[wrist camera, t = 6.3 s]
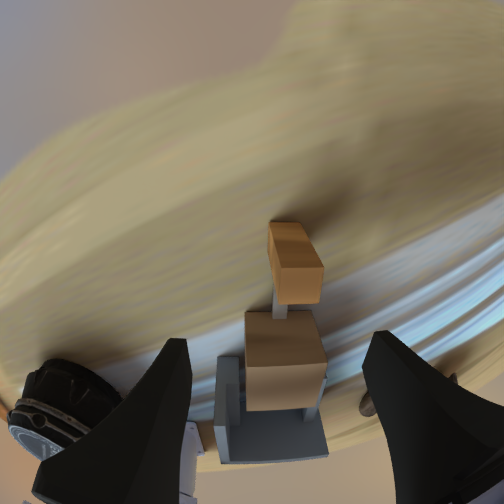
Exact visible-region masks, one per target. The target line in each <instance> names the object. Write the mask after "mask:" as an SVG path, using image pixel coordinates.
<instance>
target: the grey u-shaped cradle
mask: <svg viewBox="0 0 504 504" xmlns="http://www.w3.org/2000/svg"><path fill="white" fill-rule="evenodd" d="M326 381H327V376H326V372H325V376H324V379H323V383H322V386H321V389H320V393H319V396H318V399H317V402H316V405H315V407H308V408H297V409H284V410H266V411H247V409H246V402H240V386H239V357H217V372H216V388H215V406H214V431H215V437H216V442H217V447H218V452H219V456H220V461H221V464H264V463H280V462H291V461H301V460H309V459H316V458H323V457H327V456H328V455H329V452H328V447H327V443H326V439H325V434H324V430H323V426H322V421H321V417H320V413H319V409H318V406H319V403H320V400H321V397H322V394H323V391H324V388H325V385H326Z"/></svg>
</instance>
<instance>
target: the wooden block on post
mask: <svg viewBox="0 0 504 504" xmlns="http://www.w3.org/2000/svg"><path fill="white" fill-rule="evenodd" d="M268 255H269V260H270V265H271V270H272V275H273V280H274V284H273V300H272V312H245V381H246V409H247V411H266V410H284V409H297V408H308V407H315V405H316V402H317V399H318V396H319V393H320V389H321V386H322V383H323V379H324V376H325V372H326V369H327V365H328V361H327V358H326V354H325V351H324V348H323V345H322V342H321V339H320V336H319V333H318V330H317V327H316V324H315V321H314V318H313V315H312V313H311V310H310V311H287V309H288V304H314V303H319V299H320V293H321V287H322V280H323V273H324V266H323V264H322V262H321V260H320V258H319V257H318V255H317V253H316V251H315V249H314V247H313V245H312V244H311V242H310V240H309V238H308V236H307V235H306V233H305V231H304V229H303V227H302V226H301V224H300V223H299V222H269V227H268Z"/></svg>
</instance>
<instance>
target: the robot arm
mask: <svg viewBox="0 0 504 504" xmlns="http://www.w3.org/2000/svg"><path fill="white" fill-rule="evenodd" d="M362 370H363V374H364V378H365V382H366V385H367V389H368V391H369V394H370V397H371V399H372V402H373V404H374V407H375V409H376V412H377V414H378V417H379V419H380V422H381V424H382V427H383V429H384V432H385V435H386V438H387V443H388V447H389V451H390V456H391V461H392V467H393V473H394V481H395V490H396V504H504V406H501V405H498V404H495V403H493V402H490V401H488V400H486V399H483V398H481V397H479V396H477V395H475V394H473V393H471V392H469V391H468V390H466V389H464V388H462V387H461V386H459V385H458V384H456V383H454V382H453V381H451V380H450V379H448V378H447V377H445V376H444V375H443V374H441V373H440V372H438V371H437V370H436V369H434V368H433V367H432V366H431V365H429V364H428V363H427V362H426V361H424V360H423V359H422V358H421V357H419V356H418V355H417V354H416V353H415V352H413V351H412V350H411V349H410V348H409V347H408V346H406V345H405V344H404V343H403V342H402V341H400V340H399V339H398V338H397V337H396V336H394V335H393V334H392V333H391V332H389V331H388V330H384V331H376V332H374V334H373V337H372V340H371V343H370V346H369V349H368V352H367V354H366V357H365V360H364V362H363V365H362ZM191 389H192V370H191V364H190V358H189V353H188V347H187V341H186V339H181V338H170V339H168V340H167V342H166V344H165V345H164V347H163V348H162V350H161V351H160V353H159V354H158V356H157V357H156V359H155V360H154V362H153V363H152V365H151V366H150V367H149V369H148V370H147V371H146V373H145V374H144V375H143V377H142V378H141V379H140V381H139V382H138V383H137V384H136V386H135V387H134V388H133V389H132V390H131V392H130V393H129V394H128V395H127V396H126V398H125V399H124V400H123V401H122V402H121V403H120V404H119V405H118V406H117V407H116V408H115V409H114V410H113V411H112V412H111V413H110V414H109V415H108V416H107V417H106V418H105V419H104V420H102V421H101V422H100V423H99V424H98V425H97V426H96V427H94V428H93V429H92V430H91V431H90V432H88V433H87V434H86V435H84V436H83V437H81V438H80V439H79V440H77V441H76V442H74V443H73V444H71V445H70V446H68V447H67V448H65V449H64V450H62V451H60V452H58V453H57V454H55V455H53V456H51V457H49V458H48V459H46V460H44V461H42V462H41V464H40V466H39V468H38V471H37V474H36V477H35V481H34V484H33V488H32V491H31V492H32V494H33V495H34V496H35V497H37V498H38V499H39V500H41V501H43V502H44V503H46V504H197V498H193V493H194V491H195V480H196V465H197V456H204V455H205V453H204V449H203V446H202V443H201V439H200V436H199V432H198V429H197V425H196V423H194V422H186V421H187V416H188V411H189V405H190V400H191ZM23 504H31V503H29V502H27V501H26V500H25V501H23Z"/></svg>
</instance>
